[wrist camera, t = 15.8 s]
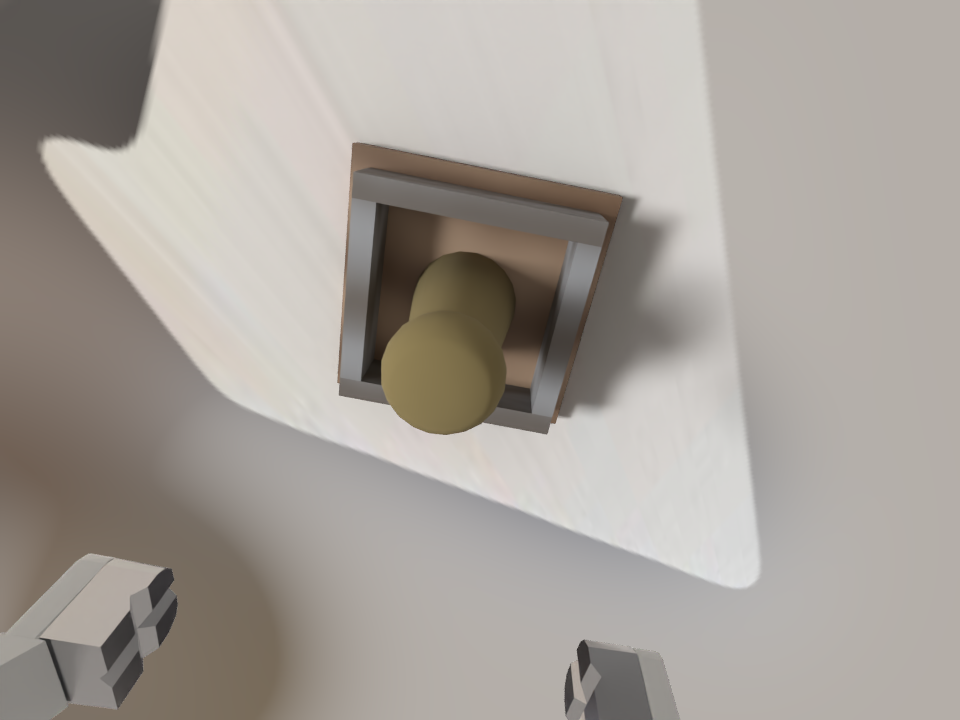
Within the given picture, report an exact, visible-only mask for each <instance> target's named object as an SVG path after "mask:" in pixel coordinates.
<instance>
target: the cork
mask: <svg viewBox="0 0 960 720" xmlns="http://www.w3.org/2000/svg"><path fill="white" fill-rule="evenodd" d="M515 305H516V297H515V293H514V288H513V284H512V282H511V281H510V279H509V277H508V276H507V274H506V272H505V271H504V270H503V269H502V268H501V267H500V266H499V265H498V264H496V263H495V262H494V261H493V260H492V259H490V258H487V257H485V256H483V255H480V254H478V253H473V252H462V251H459V252H454V253H450V254H445V255H443V256H441V257H439V258H438V259H436V260H434V261H433V262H431V263H430V264H429V265H428V266H427V267H426V268H425V270H424V271H423V272H422V273H421V275H420V276H419V279H418V281H417V284H416V287H415V290H414V295H413V300H412V306H411V311H410V317H409V322H407V323H406V324H404V325H402V327H401V328H400V329H399V330H398V331H397V332H396V334H395V335H394V336H393V337H392V338H391V340H390V341H389V343H388V344H387V347H386V350H385V353H384V355H383V358H382V361H381V385H382V388H383V391H384V393H385V396H386V399H387V401H388V403H389V404H390V405H391V406H392V408H393V409H394V410H395V412H396V413H397V414H398V415H399V417H400V418H402V419H403V420H405V421H406V422H407V423H409V424H410V425H411V426H413V427H415V428H417V429H420V430H422V431H425V432H428V433H433V434H443V435H448V434H454V433H460V432H464V431H467V430H469V429H471V428H473V427H475V426H477V425H479V424H481V423H482V422H483V421H485V420H486V419H487V418H488V417H489V416H490V415H491V414H492V413H493V412H494V410H495V409H496V407H497V405H498V403H499V401H500V399H501V397H502V395H503V393H504V391H505V383H506V374H507V367H506V363H505V359H504V354H503V350H502V348H501V347H502V344H503V342H504V339H505V337H506V334H507V332H508V329H509V327H510V325H511V322H512V320H513V317H514V313H515Z"/></svg>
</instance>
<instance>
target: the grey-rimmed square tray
mask: <svg viewBox="0 0 960 720" xmlns="http://www.w3.org/2000/svg"><path fill="white" fill-rule="evenodd" d="M622 199H623V197H621V196H620V195H616V194H611V193H606V192H601V191H596V190H591V189H586V188H581V187H576V186H571V185H566V184H561V183H556V182H551V181H546V180H541V179H537V178H532V177H527V176H522V175H517V174H512V173H507V172H502V171H497V170H492V169H487V168H482V167H477V166H472V165H467V164H462V163H457V162H452V161H447V160H442V159H437V158H432V157H427V156H422V155H417V154H412V153H407V152H402V151H398V150H393V149H388V148H383V147H378V146H373V145H368V144H363V143H353V144H352V159H351V175H350V191H349V207H348V223H347V239H346V255H345V271H344V286H343V302H342V318H341V334H340V350H339V366H338V382H337V383H340V385H339V396H345V397H350V398H355V399H361V400H366V401H371V402H377V403H382V404H387V405H390V404H389V403H388V401H387V399H386V396H385V393H384V391H383V388H382V385H381V361H382V358H383V355H384V353H385V350H386V347H387V344H388V343H389V341H390V340H391V338H392V337H393V336H394V335H395V334H396V332H397V331H398V330H399V329H400V328H401V327H402V325H404V324H406V323H407V322H409V317H410V311H411V306H412V300H413V295H414V290H415V287H416V284H417V281H418V279H419V276H420V275H421V273H422V272H423V271H424V270H425V268H426V267H427V266H428V265H429V264H430V263H431V262H433V261H434V260H436V259H438V258H439V257H441V256H443V255H445V254H450V253H454V252H459V251H462V252H473V253H478V254H480V255H483V256H485V257H487V258H490V259H492V260H493V261H494V262H495V263H496V264H498V265H499V266H500V267H501V268H502V269H503V270H504V271H505V272H506V274H507V276H508V277H509V279H510V281H511V282H512V284H513V288H514V293H515V297H516V305H515V313H514V317H513V320H512V322H511V325H510V327H509V329H508V332H507V334H506V337H505V339H504V342H503V344H502V347H501V348H502V350H503V354H504V359H505V363H506V367H507V374H506V383H505V391H504V393H503V395H502V397H501V399H500V401H499V403H498V405H497V407H496V409H495V410H494V412H493V413H492V414H491V415H490V416H489V417H488V418H487V419H486V420H485V421H483V422H484V423H489V424H494V425H500V426H505V427H510V428H516V429H521V430H526V431H532V432H537V433H542V434H547V433H548V430H549V426H550V423H554V424H555V423H556V420H557V417H558V413H559V410H560V407H561V403H562V400H563V397H564V393H565V390H566V386H567V383H568V380H569V376H570V373H571V370H572V366H573V363H574V360H575V356H576V353H577V350H578V346H579V343H580V340H581V336H582V333H583V329H584V326H585V323H586V319H587V316H588V313H589V309H590V306H591V303H592V299H593V296H594V293H595V289H596V286H597V283H598V279H599V276H600V272H601V269H602V266H603V262H604V259H605V256H606V252H607V249H608V246H609V242H610V239H611V236H612V232H613V229H614V226H615V222H616V219H617V215H618V212H619V209H620V205H621V202H622Z"/></svg>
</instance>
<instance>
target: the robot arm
mask: <svg viewBox="0 0 960 720" xmlns="http://www.w3.org/2000/svg"><path fill="white" fill-rule="evenodd" d="M173 581H174V577H173V572H172V569H171V568H166V567H160V566H155V565H149V564H144V563H139V562H133V561H128V560H123V559H118V558H113V557H108V556H102V555H96V554H90V553H89V554H87V555H86V556H84V557H83V558H81V559H79V560H77V561H76V562H75V563H74V564H73V565H72V566H71V567H70V568H69V569H68V570H67V571H66V573H65V574H64V575H63V576H62V577H61V578H60V579H59V580H58V581H57V582H56V583H55V584H54V585H53V586H52V587H51V588H50V589H49V590H48V591H47V592H46V593H45V594H44V595H43V596H42V597H41V598H40V599H39V600H38V601H37V602H36V603H35V604H34V605H33V606H32V607H31V608H30V609H29V610H28V611H27V612H26V613H25V614H24V615H23V616H22V617H21V618H20V619H19V620H18V621H17V622H16V623H15V624H14V625H13V626H12V628H10V629H9V630H8V631H7V632H6V633H1V632H0V720H51V719H52V718H53V717H55V716H56V715H58V714H59V713H60V712H62V711H63V710H64V709H66V708H67V707H68V703H73V704H79V705H87V706H94V707H102V708H110V709H118V708H119V707H120V705H121V704H122V702H123V701H124V699H125V698H126V697H127V695H128V694H129V692H130V690H131V689H132V687H133V686H134V685H135V683H136V682H137V680H138V678H139V677H140V675H141V674H142V673H143V658H144V657H145V656H147V655H148V654H150V653H151V652H153V651H154V650H156V649H157V648H159V647H160V645H161V644H162V642H163V641H164V639H165V638H166V636H167V635H168V633H169V631H170V629H171V626H172V624H173V622H174V619H175V617H176V612H177V606H178V602H177V595H176V594H175V593H174V592H173V591H171V589H170V588H169V587H170V585H171V584H172V583H173ZM577 656H578V660H576V661H574V662H572V663H571V664H570V667H569V669H568V672H567V675H566V682H565V699H564V700H565V701H564V702H565V714H566V717H567V719H568V720H680V718H679V714H678V711H677V707H676V704H675V700H674V697H673V693H672V690H671V686H670V683H669V679H668V676H667V672H666V669H665V665H664V662H663V659H662V657H661V656H660V654H659V653H657V652H655V651H649V650H643V649H636V648H631V647H629V646H623V645H616V644H610V643H603V642H597V641H591V640H583V641H581V642H580V644H579V646H578V648H577Z"/></svg>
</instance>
